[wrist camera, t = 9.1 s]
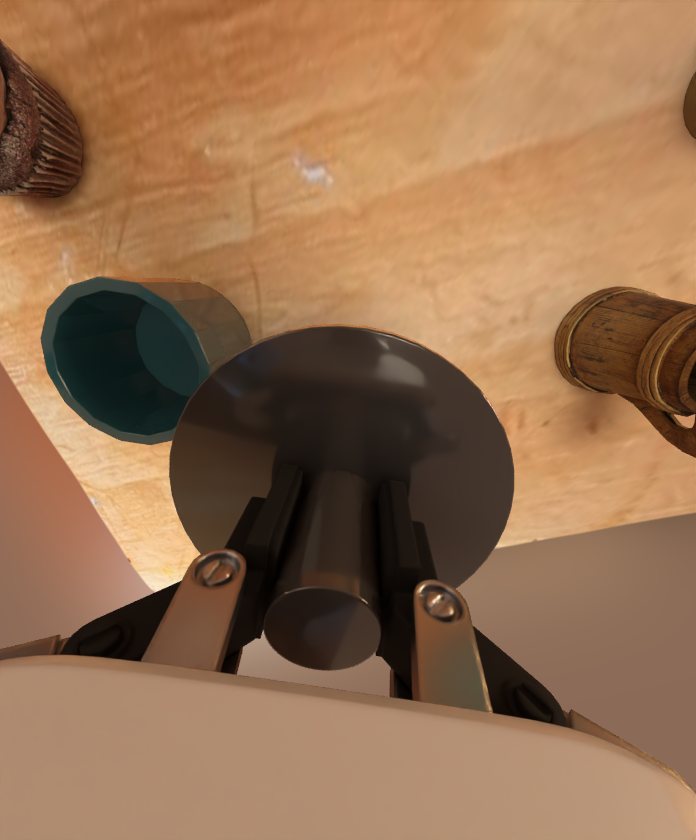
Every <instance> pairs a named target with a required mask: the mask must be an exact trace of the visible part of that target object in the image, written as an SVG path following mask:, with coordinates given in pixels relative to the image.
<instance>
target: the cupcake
mask: <svg viewBox="0 0 696 840" xmlns="http://www.w3.org/2000/svg"><path fill="white" fill-rule="evenodd" d="M81 158H82V141H81V136H80V134H79V129H78V126H77V124H76V121H75V118H74V117H73V115H72V113H71V111H70V110H69V109H68V107H67V106H66V104H65V102H64V101H63V100H62V99H61V98H60V97H59V96H58V95H57V93H56V92H55V91H54V90H53V89H52V88H51V87H50V86H49V85H48V84H47V83H46V82H45V81H44V80H43V79H42V78H41V77H40V76H38V75H37V74H36V73H35V72H34V71H33V70H32V69H31V68H30V67H29V66H28V65H27V64H26V63H25V62H24V61H22V60H21V59H20V58H19V57H18V56H17V55H16V54H15V53H14V52H13V51H12V50H11V49H10V48H9V47H7V46H6V45H5V44H4V42H3V41H2V40H1V39H0V196H34V197H59V196H60V195H62V194H66V193H69V192H70V190H71V188H72V187H73V186H75V185H76V184H77V183H78V178H79V177H80V176H81V175H82V168H81Z"/></svg>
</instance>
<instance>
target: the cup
mask: <svg viewBox="0 0 696 840" xmlns="http://www.w3.org/2000/svg"><path fill="white" fill-rule="evenodd" d="M41 344H42V349H43V354H44V359H45V364H46V369H47V372H48V374H49V376H50V378H51V379H52V381H53V383H54V385H55V386H56V388H57V390H58V391H59V393H60V395H61V396H62V398H63V400H64V401H65V403H66V404H67V405H68V406H69V407H71V408H72V409H73V410H74V411H75V412H76V413H77V414H78V415H79V416H80V417H81V418H82V419H83V420H85V421H86V422H87V423H88V424H89V425H91V426H92V427H94V428H96V429H98V430H100V431H102V432H104V433H106V434H108V435H110V436H112V437H114V438H116V439H118V440H121V441H127V442H133V443H140V444H146V445H154V444H158V443H163V442H167V441H171V440H173V436H174V433H175V430H176V427H177V424H178V421H179V418H180V416H181V414H182V412H183V410H184V408H185V407H186V405H187V403H188V401H189V399H190V398H191V396H192V395H193V394H194V392H195V391H196V390H197V388H198V387H199V386H200V384H201V383H202V382H203V381H204V380H205V379H206V378H207V377H208V376H209V375H210V374H211V373H212V372H213V371H214V370H215V369H216V368H217V367H218V366H219V365H221V364H222V363H223V362H225V361H226V360H228V359H229V358H230V357H232V356H233V355H235V354H236V353H238V352H239V351H241V350H243V349H245V348H247V347H249V346H251V339H250V335H249V332H248V329H247V327H246V324H245V322H244V320H243V318H242V317H241V315H240V314H239V312H238V311H237V309H236V308H235V307H234V306H233V305H232V304H231V303H230V301H229V300H227V299H226V298H225V297H224V296H223V295H222V294H220V293H219V292H217V291H216V290H214V289H212V288H210V287H208V286H206V285H204V284H201V283H199V282H194V281H188V280H180V279H171V278H134V277H96V278H93V279H90V280H86V281H83V282H80V283H76V284H73V285H70V286H68V287H67V288H66V289H65V290H64V292H63V293H62V294H61V295H60V296H59V297H58V298H57V299H56V300H55V301H54V302H53V304H52V305H51V306H50V307H49V308H48V309H47V313H46V317H45V322H44V326H43V331H42V335H41Z"/></svg>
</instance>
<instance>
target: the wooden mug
mask: <svg viewBox="0 0 696 840" xmlns="http://www.w3.org/2000/svg"><path fill="white" fill-rule="evenodd" d="M555 357H556V361H557V364H558V367H559V369H560V371H561V373H562V374H563V376H564V377H565V378H566V379H567V380H568V381H569V382H571V383H572V384H573V385H575V386H578V387H581V388H584V389H587V390H590V391H594V392H597V393H604V394H616V393H617V394H618V395H620V396H622V397H623V398H625V399H626V400H628V401H630V402H631V403H633V404H634V405H635V406H636V407H637V408H638V409H639V410H640V411H641V412H642V413H643V415H644V416H645V417H646V418H647V419H648V420H649V422H650V423H651V424H652V425H653V426H654V427H655V428H656V429H657V430H658V431H659V433H660V434H661V435H662V436H663V437H664V438H665V439H666V440H667V441H668V442H670V443H671V444H673V445H674V446H675V447H677V448H678V449H680V450H681V451H682V452H684V453H686V454H689V455H691V456H693V457H695V458H696V415H695V423H694V426H693V428H687V427H685V426H682V425H681V423H680V422H679V421H678V420H677V419H676V417H675V416H674V414H677V415H681V416H686V417H688V416H691V415H693V414H696V305H693V304H689V303H684V302H679V301H675V300H670V299H665V298H661V297H660V296H658V295H657V294H655V293H651V292H648V291H644V290H640V289H636V288H632V287H613V288H609V289H604V290H601V291H599V292H597V293H595V294H593V295H590V296H588V297H587V298H586V299H584V300H583V301H582V302H580V303H579V304H578V305H576V306H575V307H574V308H573V309H572V311H571V312H570V313H569V314H568V315H567V316H566V317H565V319H564V321H563V322H562V324H561V326H560V328H559V329H558V332H557V336H556V341H555Z"/></svg>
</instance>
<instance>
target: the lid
mask: <svg viewBox="0 0 696 840" xmlns="http://www.w3.org/2000/svg"><path fill="white" fill-rule="evenodd" d="M282 464H289V465H295V466H298V470H302V471H303V476H302V485H301V494H300V500H299V503H298V506H297V509H296V513H295V516H294V519H293V522H292V526H291V529H290V532H289V536H288V539H287V542H286V545H285V549H284V552H283V555H282V558H281V562H280V565H279V568H278V572H277V575H276V578H275V581H274V585H273V587H272V591H271V594H270V597H269V600H268V604H267V607H266V610H265V613H264V617H263V630H264V634H265V637H266V639H267V641H268V643H269V644H270V646H271V647H272V648H273V649H274V650H275V651H276V652H277V653H278V654H279V655H280V656H282V657H283V658H285V659H286V660H288V661H290V662H292V663H294V664H296V665H299V666H302V667H305V668H309V669H314V670H323V671H333V670H342V669H347V668H350V667H354V666H356V665H359V664H361V663H363V662H364V661H366V660H367V659H369V658H370V657H371V656H372V655H373V654H374V653H375V652H376V651H377V649H378V647H379V646H380V643H381V640H382V636H383V620H382V601H381V582H380V563H379V544H378V525H377V504H378V499H379V494H380V490H381V485H382V483H386V484H387V483H388V480H393V481H400V482H404V483H405V488H406V493H407V498H408V503H409V508H410V513H411V519H412V521H419V522H423V523H424V526H425V529H426V533H427V537H428V541H429V545H430V550H431V554H432V558H433V562H434V566H435V570H436V574H437V578H438V580H439V581H442V582H445V583H447V584H449V585H450V586H452V587H454V588H455V589H456V588H457V587H458V586H460V585H461V584H463V583H464V582H465V581H466V580H467V579H468V578H469V577H471V576H472V575H473V574H474V573H475V572H476V570H478V568H479V567H480V566H481V565H482V564H483V563H484V562H485V561H486V560H487V558H488V557H489V555H490V554H491V552H492V551H493V549H494V548H495V546H496V545H497V543H498V541H499V539H500V537H501V535H502V533H503V531H504V529H505V527H506V524H507V520H508V517H509V514H510V511H511V507H512V500H513V494H514V465H513V459H512V453H511V447H510V444H509V441H508V438H507V435H506V432H505V429H504V427H503V425H502V423H501V421H500V419H499V417H498V415H497V414H496V412H495V410H494V408H493V407H492V405H491V404H490V402H489V401H488V400H487V398H486V397H485V396H484V394H483V393H482V392H481V390H480V389H479V388H478V387H477V386H476V385H475V384H474V383H473V382H472V381H471V380H470V379H469V378H468V377H467V376H466V375H465V374H464V373H463V372H462V371H461V370H460V369H459V368H457V367H456V366H455V365H453V364H452V363H451V362H449V361H448V360H447V359H445V358H444V357H443V356H441V355H440V354H439V353H437V352H435V351H433V350H431V349H429V348H428V347H426V346H424V345H422V344H420V343H418V342H416V341H414V340H411V339H409V338H406V337H403V336H401V335H398V334H395V333H393V332H388V331H384V330H380V329H375V328H371V327H366V326H355V325H344V324H334V325H314V326H309V327H303V328H298V329H292V330H288V331H285V332H282V333H279V334H276V335H273V336H270V337H267V338H265V339H263V340H261V341H259V342H257V343H255V344H253V345H251V346H249V347H247V348H245V349H243V350H241V351H239V352H238V353H236V354H235V355H233V356H232V357H230V358H229V359H228V360H226V361H225V362H223V363H222V364H221V365H219V366H218V367H217V368H216V369H215V370H214V371H213V372H212V373H211V374H210V375H209V376H208V377H207V378H206V379H205V380H204V381H203V382H202V383H201V384H200V386H199V387H198V388H197V390H196V391H195V392H194V394H193V395H192V396H191V398H190V399H189V401H188V403H187V405H186V407H185V408H184V410H183V412H182V414H181V416H180V418H179V421H178V424H177V427H176V430H175V433H174V436H173V440H172V446H171V452H170V469H169V477H170V484H171V491H172V497H173V500H174V504H175V507H176V511H177V514H178V516H179V518H180V520H181V523H182V525H183V527H184V529H185V531H186V533H187V535H188V536H189V538H190V539H191V541H192V543H193V544H194V546H195V547H196V549H197V550H198V551H199V552H200V554H203V553H205V552H207V551H209V550H213V549H219V548H224V547H225V546H226V544H227V542H228V540H229V538H230V536H231V534H232V532H233V531H234V529H235V527H236V525H237V523H238V521H239V519H240V518H241V516H242V514H243V512H244V510H245V508H246V506H247V504H248V503H249V501H250V499H251V498H252V497H253V496H255V497H261V498H266V497H267V495H268V493H269V491H270V489H271V487H272V484H273V482H274V480H275V478H276V476H277V474H278V472H279V469H280V467H281V465H282Z"/></svg>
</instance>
